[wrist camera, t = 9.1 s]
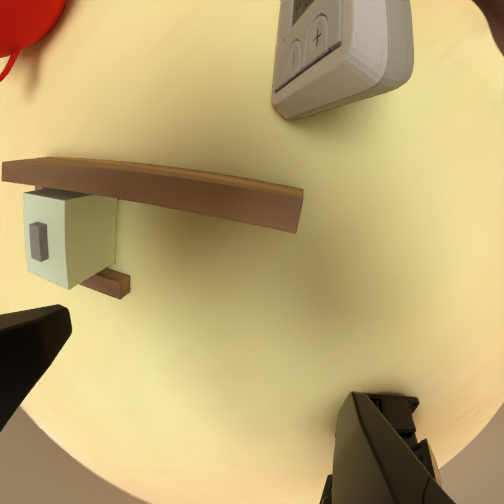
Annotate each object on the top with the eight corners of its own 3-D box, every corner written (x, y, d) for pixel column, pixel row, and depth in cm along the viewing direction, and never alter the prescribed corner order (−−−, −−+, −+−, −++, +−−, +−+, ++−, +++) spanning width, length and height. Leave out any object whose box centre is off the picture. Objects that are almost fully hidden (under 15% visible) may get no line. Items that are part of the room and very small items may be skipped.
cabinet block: (116, 261, 22) (61, 294, 15) (75, 249, 22) (20, 274, 16) (119, 189, 20) (55, 203, 14) (75, 183, 21) (15, 194, 14)
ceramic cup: (7, 116, 20) (-61, 119, 11) (23, 9, 15) (-29, -4, 6) (79, 65, 17) (-8, 45, 8) (95, -45, 13) (42, -76, 3)
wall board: (271, 331, 21) (258, 385, 15) (48, 262, 24) (6, 283, 18) (303, 189, 18) (303, 200, 12) (48, 157, 20) (-2, 162, 15)
